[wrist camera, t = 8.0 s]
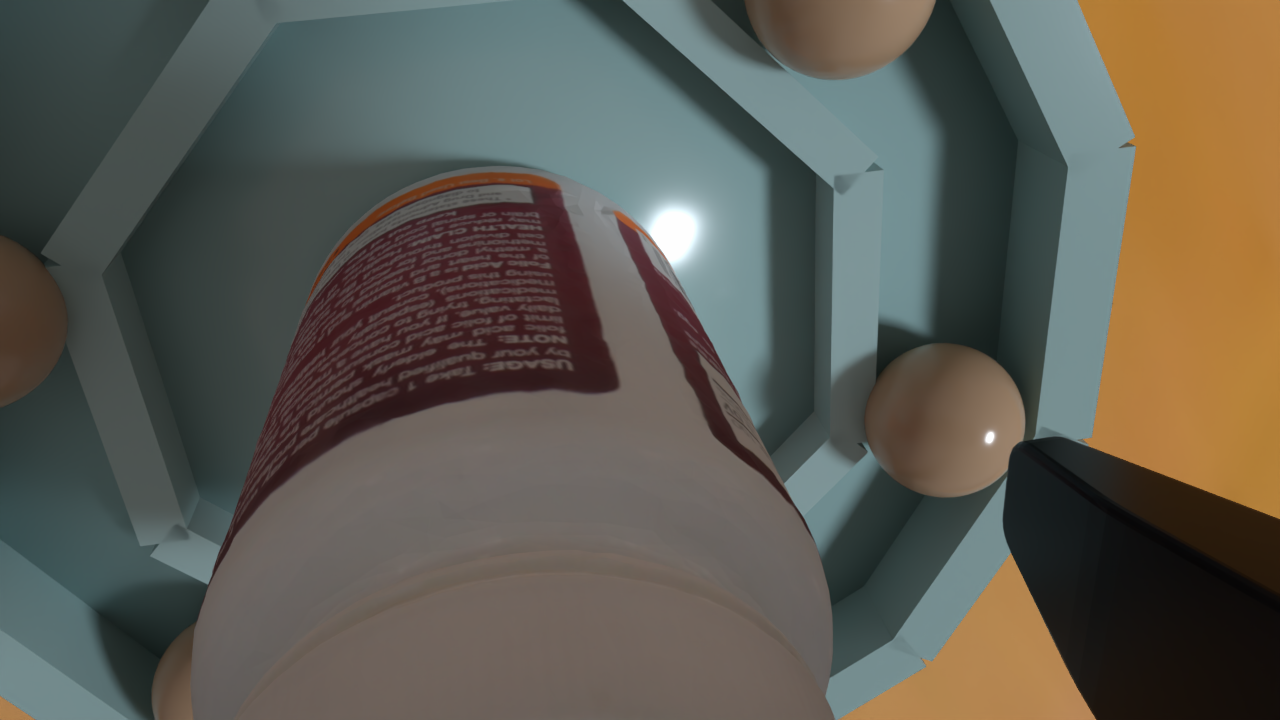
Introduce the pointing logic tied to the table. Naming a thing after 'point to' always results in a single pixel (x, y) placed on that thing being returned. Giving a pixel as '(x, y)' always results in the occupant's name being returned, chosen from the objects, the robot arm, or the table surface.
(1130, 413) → the table surface
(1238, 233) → the table surface
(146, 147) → the tray
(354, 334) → the pill bottle
